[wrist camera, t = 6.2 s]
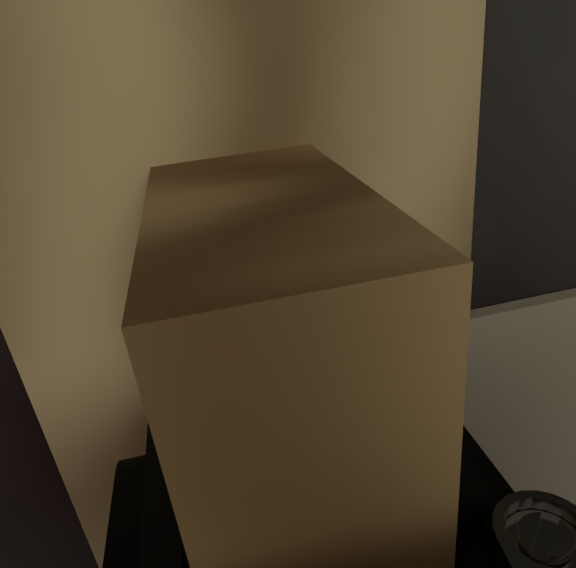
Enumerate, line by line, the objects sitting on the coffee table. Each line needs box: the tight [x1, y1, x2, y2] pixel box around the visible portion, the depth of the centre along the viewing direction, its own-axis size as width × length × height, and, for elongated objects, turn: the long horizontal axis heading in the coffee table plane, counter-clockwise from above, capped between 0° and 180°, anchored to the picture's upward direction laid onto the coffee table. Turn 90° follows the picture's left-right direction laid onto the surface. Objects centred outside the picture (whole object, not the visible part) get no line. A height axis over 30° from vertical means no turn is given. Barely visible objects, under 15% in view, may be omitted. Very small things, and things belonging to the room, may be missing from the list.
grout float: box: [0, 0, 486, 568], centre depth 10 cm, size 10×18×7 cm, turn 6°
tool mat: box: [463, 288, 576, 505], centre depth 25 cm, size 15×22×1 cm
